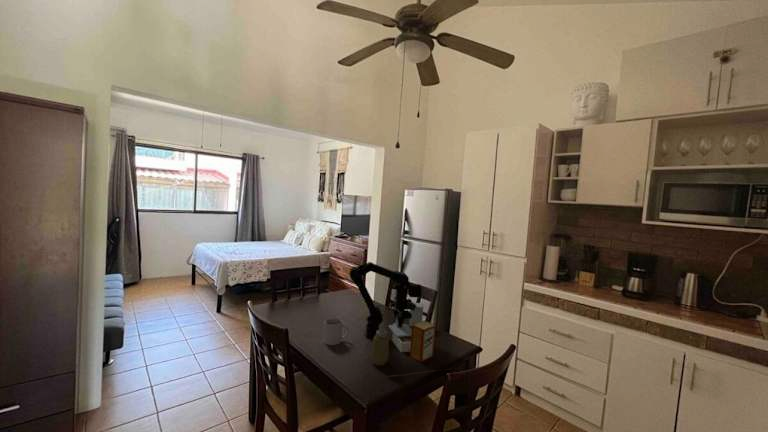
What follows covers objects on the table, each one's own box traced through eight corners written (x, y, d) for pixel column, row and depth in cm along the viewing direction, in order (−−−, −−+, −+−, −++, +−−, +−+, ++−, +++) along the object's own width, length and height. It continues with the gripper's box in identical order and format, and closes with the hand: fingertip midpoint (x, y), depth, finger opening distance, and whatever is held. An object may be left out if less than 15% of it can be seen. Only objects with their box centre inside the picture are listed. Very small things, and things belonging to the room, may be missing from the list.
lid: (396, 337, 153) (397, 327, 152) (387, 325, 166) (388, 316, 166) (416, 335, 156) (416, 326, 156) (405, 324, 170) (405, 315, 169)
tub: (400, 353, 147) (401, 343, 147) (392, 341, 159) (393, 332, 159) (419, 351, 151) (420, 341, 150) (410, 340, 162) (410, 331, 162)
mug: (319, 342, 152) (321, 322, 152) (330, 335, 161) (331, 316, 161) (339, 348, 148) (340, 327, 148) (348, 340, 157) (349, 321, 157)
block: (405, 346, 154) (406, 340, 154) (400, 342, 157) (401, 337, 157) (411, 344, 157) (412, 338, 156) (406, 340, 160) (406, 335, 160)
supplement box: (421, 329, 178) (422, 307, 177) (408, 327, 179) (410, 305, 179) (422, 324, 185) (423, 303, 184) (409, 322, 186) (411, 301, 186)
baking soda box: (422, 351, 151) (424, 319, 150) (433, 357, 146) (435, 324, 145) (409, 357, 144) (412, 324, 143) (420, 363, 139) (423, 329, 139)
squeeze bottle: (369, 358, 141) (372, 319, 140) (387, 358, 141) (390, 320, 141) (370, 368, 133) (373, 327, 132) (389, 368, 133) (392, 327, 132)
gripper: (422, 302, 157) (420, 332, 158) (408, 291, 175) (406, 318, 176) (402, 302, 154) (399, 333, 155) (389, 291, 172) (387, 319, 172)
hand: (398, 325), depth 164 cm, fingers closed on lid, 3 cm apart
